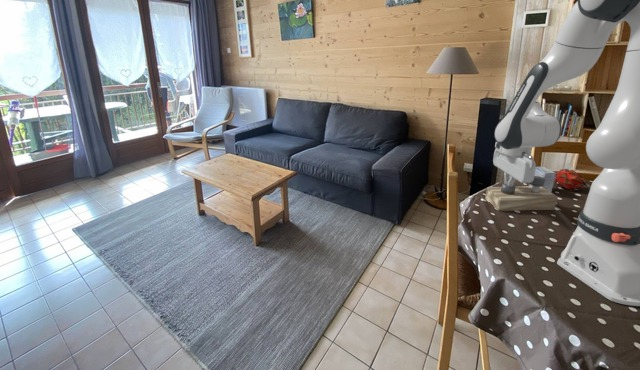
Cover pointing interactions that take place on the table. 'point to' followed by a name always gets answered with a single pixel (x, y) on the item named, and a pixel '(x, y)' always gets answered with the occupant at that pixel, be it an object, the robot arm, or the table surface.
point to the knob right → (537, 183)
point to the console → (521, 199)
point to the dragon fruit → (569, 179)
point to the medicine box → (547, 175)
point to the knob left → (507, 189)
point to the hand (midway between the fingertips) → (508, 185)
